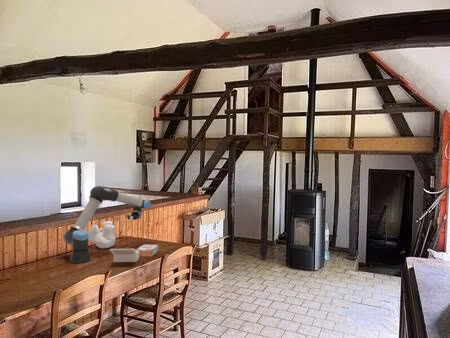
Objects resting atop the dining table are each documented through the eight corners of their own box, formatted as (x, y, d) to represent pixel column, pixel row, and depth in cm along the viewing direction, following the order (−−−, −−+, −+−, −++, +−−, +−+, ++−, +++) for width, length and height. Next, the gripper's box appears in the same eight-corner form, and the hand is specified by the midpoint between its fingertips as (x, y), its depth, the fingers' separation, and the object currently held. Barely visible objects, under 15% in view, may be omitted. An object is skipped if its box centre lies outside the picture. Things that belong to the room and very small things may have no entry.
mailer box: (117, 257, 289) (117, 250, 288) (139, 257, 290) (139, 249, 290) (113, 262, 275) (113, 254, 274) (136, 261, 276) (136, 254, 276)
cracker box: (159, 244, 311) (151, 250, 290) (159, 250, 311) (151, 257, 290) (143, 243, 312) (135, 249, 292) (143, 250, 312) (135, 256, 292)
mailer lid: (109, 249, 262) (109, 249, 262) (134, 248, 264) (134, 249, 264) (113, 254, 274) (113, 254, 274) (136, 253, 276) (136, 254, 276)
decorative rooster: (118, 246, 329) (118, 219, 328) (110, 250, 313) (110, 222, 313) (93, 244, 332) (93, 218, 332) (84, 248, 317) (84, 221, 316)
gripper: (142, 219, 322) (138, 223, 298) (128, 219, 320) (123, 223, 297) (142, 211, 322) (138, 214, 298) (128, 211, 320) (123, 214, 297)
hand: (130, 219), depth 298 cm, fingers closed
